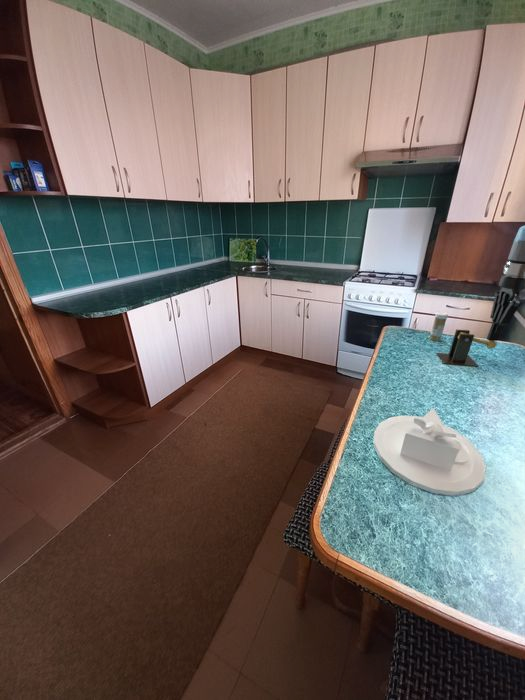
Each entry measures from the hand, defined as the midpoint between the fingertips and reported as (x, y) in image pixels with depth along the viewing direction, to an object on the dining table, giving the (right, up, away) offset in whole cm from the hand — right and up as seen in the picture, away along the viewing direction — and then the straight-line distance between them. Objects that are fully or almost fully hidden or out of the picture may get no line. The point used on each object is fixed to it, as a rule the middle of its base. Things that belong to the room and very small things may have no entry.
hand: (491, 339), depth 107 cm
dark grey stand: (-9, -9, +7) cm, 14 cm away
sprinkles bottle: (-7, 0, +24) cm, 25 cm away
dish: (-44, -30, -34) cm, 63 cm away
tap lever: (-5, -2, +2) cm, 5 cm away
